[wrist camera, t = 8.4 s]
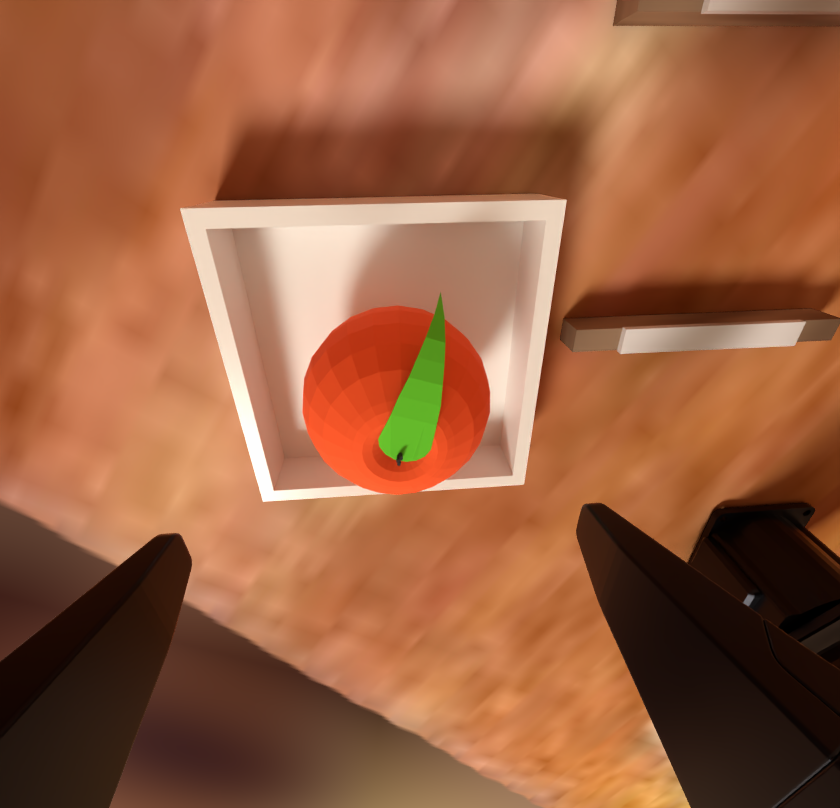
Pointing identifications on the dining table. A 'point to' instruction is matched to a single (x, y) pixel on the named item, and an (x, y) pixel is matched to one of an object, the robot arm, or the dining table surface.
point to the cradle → (711, 6)
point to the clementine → (396, 399)
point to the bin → (372, 288)
